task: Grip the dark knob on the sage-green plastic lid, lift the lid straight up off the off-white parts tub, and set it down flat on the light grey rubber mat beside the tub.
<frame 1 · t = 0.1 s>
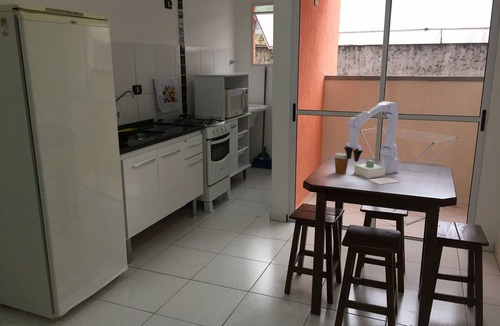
hand: (352, 160, 248), 10 cm above the table, tool pointing down, fingers open, 7 cm apart
lid: (369, 167, 254), point 4 cm above the table, touching tub
disposable coffee cup: (340, 173, 258), on the table
mat: (383, 181, 241), on the table
tub: (369, 174, 255), on the table
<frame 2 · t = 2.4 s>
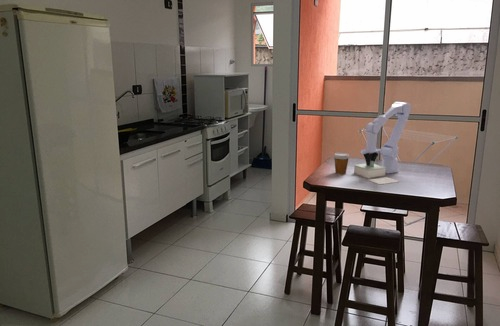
hand: (370, 164, 253), 6 cm above the table, tool pointing down, fingers closed on lid, 2 cm apart
lid: (369, 167, 254), point 4 cm above the table, touching gripper, tub
everything else where it was.
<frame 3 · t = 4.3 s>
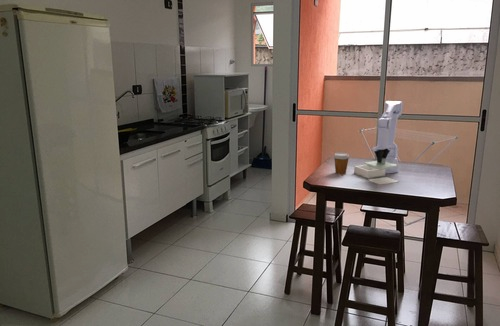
hand: (381, 162, 242), 11 cm above the table, tool pointing down, fingers closed on lid, 2 cm apart
lid: (380, 165, 242), point 9 cm above the table, touching gripper
everything else where it was.
when the fingers open (4 cm above the table, at t = 6.4 s): lid drops 1 cm, resting on mat.
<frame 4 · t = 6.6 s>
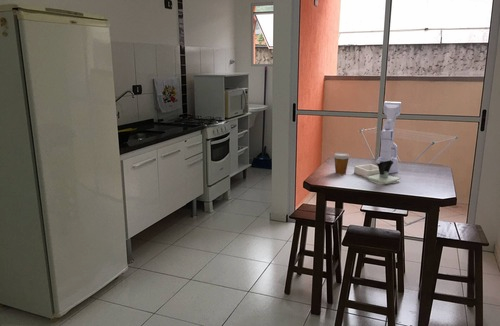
hand: (384, 173, 240), 4 cm above the table, tool pointing down, fingers open, 4 cm apart
lid: (383, 178, 240), point 1 cm above the table, touching mat
everything else where it was.
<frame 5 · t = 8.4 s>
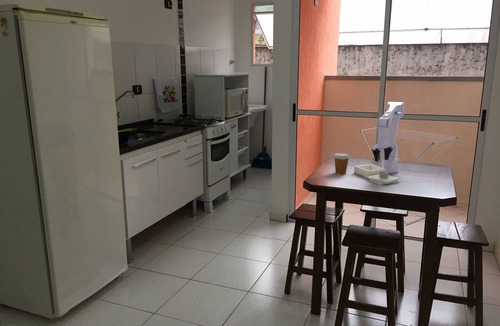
hand: (381, 160, 246), 10 cm above the table, tool pointing down, fingers open, 7 cm apart
nothing on the table moved.
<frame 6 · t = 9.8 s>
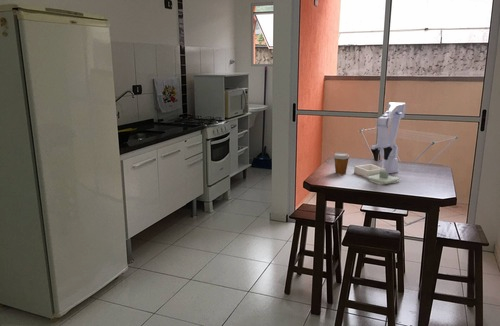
hand: (380, 160, 247), 10 cm above the table, tool pointing down, fingers open, 7 cm apart
nothing on the table moved.
at the end: lid 0.1 cm off-centre on the mat, point 1.4 cm above the mat's base; lid tilted 0°; the gripper is holding nothing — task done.
